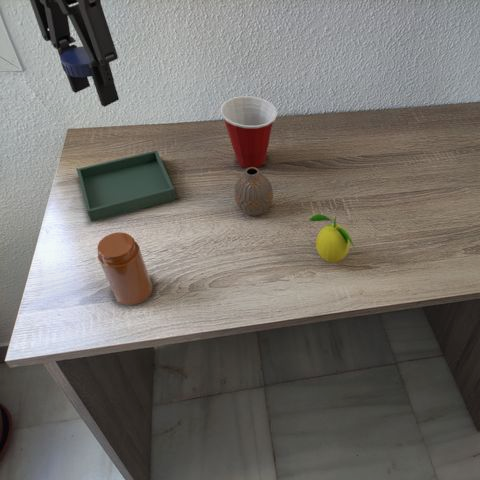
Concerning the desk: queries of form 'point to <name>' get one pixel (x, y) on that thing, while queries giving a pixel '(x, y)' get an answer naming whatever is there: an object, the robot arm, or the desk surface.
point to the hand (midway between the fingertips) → (95, 95)
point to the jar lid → (76, 62)
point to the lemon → (332, 240)
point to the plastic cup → (249, 128)
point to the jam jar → (124, 268)
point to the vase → (253, 192)
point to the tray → (125, 185)
